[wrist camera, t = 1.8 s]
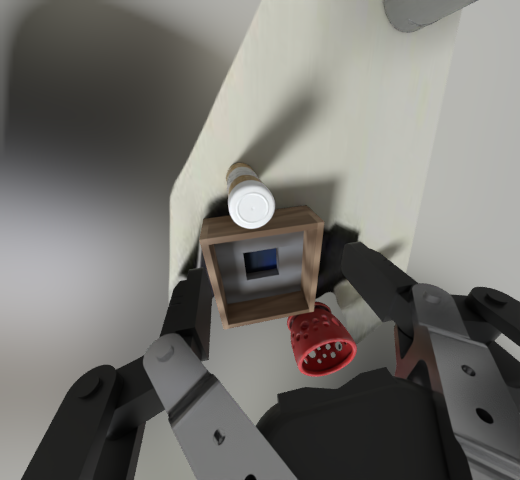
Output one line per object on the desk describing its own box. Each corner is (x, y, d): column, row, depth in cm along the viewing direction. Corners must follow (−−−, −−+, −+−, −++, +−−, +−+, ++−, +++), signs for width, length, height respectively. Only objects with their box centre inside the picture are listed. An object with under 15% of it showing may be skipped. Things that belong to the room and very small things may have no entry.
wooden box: (203, 218, 32) (199, 239, 26) (306, 205, 34) (324, 221, 28) (223, 300, 42) (223, 329, 36) (301, 286, 44) (313, 311, 38)
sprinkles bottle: (247, 196, 31) (262, 236, 20) (221, 184, 29) (220, 220, 18) (260, 170, 29) (284, 197, 18) (233, 155, 28) (241, 175, 16)
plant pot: (338, 310, 51) (367, 355, 41) (300, 335, 54) (318, 382, 44) (315, 286, 45) (342, 333, 35) (272, 316, 48) (286, 367, 38)
